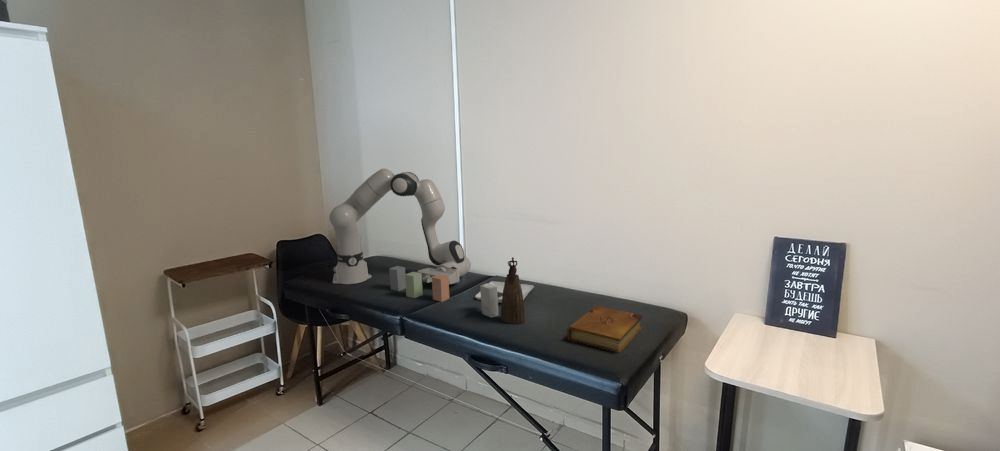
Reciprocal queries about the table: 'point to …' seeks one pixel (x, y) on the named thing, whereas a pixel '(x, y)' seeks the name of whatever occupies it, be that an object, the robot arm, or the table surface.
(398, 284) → the slate block
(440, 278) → the terracotta block
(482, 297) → the skincare box
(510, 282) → the statue
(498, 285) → the salad plate
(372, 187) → the robot arm
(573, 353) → the table surface
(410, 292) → the sage block
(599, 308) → the diary
